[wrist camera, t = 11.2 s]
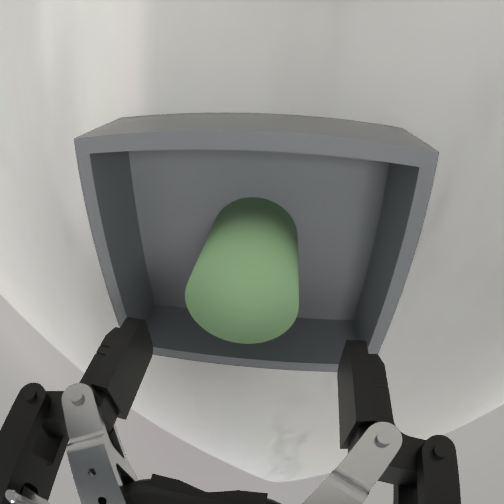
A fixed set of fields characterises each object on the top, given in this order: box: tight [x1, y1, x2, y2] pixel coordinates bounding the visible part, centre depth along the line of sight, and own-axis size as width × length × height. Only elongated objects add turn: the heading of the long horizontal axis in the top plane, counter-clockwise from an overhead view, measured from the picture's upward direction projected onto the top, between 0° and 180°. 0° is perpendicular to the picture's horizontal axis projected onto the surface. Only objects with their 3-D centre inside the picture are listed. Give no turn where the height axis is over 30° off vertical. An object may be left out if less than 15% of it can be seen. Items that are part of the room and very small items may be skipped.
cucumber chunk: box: [185, 197, 299, 344], centre depth 17 cm, size 5×5×6 cm
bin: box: [74, 113, 439, 372], centre depth 18 cm, size 16×14×5 cm
